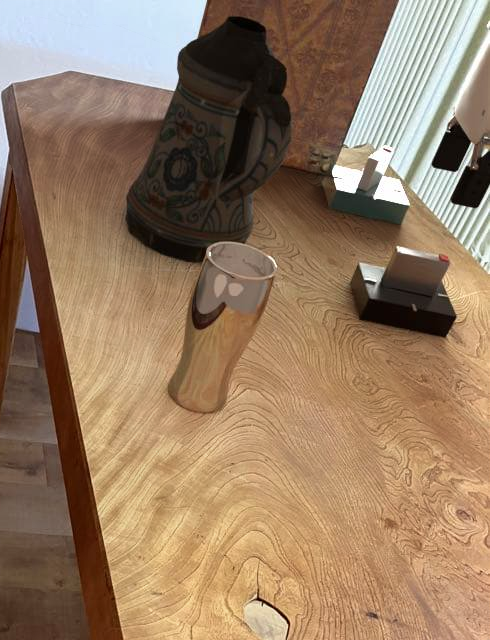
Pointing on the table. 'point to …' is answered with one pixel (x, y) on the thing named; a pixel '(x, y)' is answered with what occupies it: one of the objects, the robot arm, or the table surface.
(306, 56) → the book
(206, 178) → the beer stein
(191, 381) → the beer glass
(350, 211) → the base
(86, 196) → the table surface
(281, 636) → the table surface
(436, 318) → the base
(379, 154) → the cold tap
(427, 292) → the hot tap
